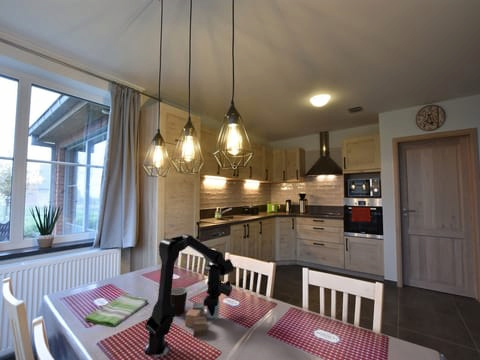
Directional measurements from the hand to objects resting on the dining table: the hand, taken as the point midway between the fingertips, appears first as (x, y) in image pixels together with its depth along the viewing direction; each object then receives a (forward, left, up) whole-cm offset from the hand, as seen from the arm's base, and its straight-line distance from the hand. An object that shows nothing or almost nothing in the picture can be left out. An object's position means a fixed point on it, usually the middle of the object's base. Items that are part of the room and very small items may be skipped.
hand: (213, 312), depth 106 cm
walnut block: (-10, +4, -3) cm, 11 cm away
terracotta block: (-4, +9, -3) cm, 10 cm away
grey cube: (0, 0, -1) cm, 1 cm away
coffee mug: (+7, +18, -3) cm, 20 cm away
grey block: (+3, +8, -3) cm, 9 cm away
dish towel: (+4, +47, -4) cm, 47 cm away
